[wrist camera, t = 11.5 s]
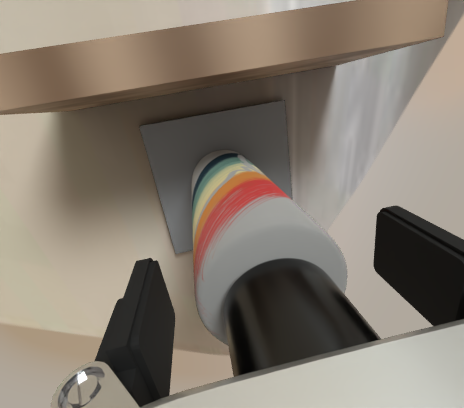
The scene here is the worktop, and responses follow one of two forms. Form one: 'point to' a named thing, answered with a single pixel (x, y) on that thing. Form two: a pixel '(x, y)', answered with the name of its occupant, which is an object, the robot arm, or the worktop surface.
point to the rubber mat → (205, 142)
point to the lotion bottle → (266, 270)
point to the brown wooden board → (211, 54)
